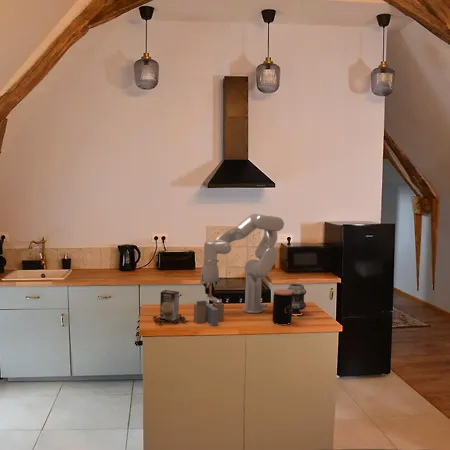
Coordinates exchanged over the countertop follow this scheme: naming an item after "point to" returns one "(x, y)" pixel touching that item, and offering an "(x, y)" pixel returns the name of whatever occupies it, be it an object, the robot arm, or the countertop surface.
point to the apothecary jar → (297, 297)
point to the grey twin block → (208, 313)
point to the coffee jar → (282, 306)
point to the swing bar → (210, 297)
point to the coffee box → (169, 304)
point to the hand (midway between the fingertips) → (209, 293)
